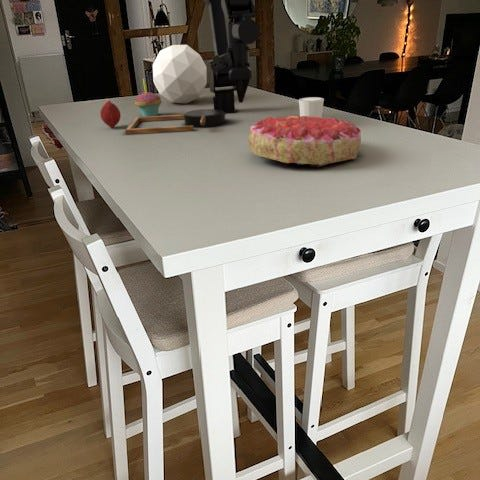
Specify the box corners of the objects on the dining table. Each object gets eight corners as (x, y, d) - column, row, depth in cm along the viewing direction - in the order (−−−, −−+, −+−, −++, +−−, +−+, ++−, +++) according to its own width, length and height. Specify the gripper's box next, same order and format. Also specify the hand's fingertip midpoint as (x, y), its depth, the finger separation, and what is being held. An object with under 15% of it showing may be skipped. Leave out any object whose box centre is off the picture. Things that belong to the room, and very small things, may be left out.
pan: (225, 118, 160) (224, 107, 158) (224, 131, 143) (224, 119, 141) (186, 120, 160) (185, 109, 158) (181, 134, 143) (180, 121, 141)
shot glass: (307, 129, 140) (307, 101, 137) (293, 125, 146) (293, 98, 142) (328, 125, 143) (329, 98, 139) (313, 122, 148) (314, 95, 144)
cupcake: (160, 117, 166) (155, 76, 160) (134, 118, 167) (128, 78, 161) (164, 112, 174) (159, 73, 167) (139, 114, 174) (133, 74, 168)
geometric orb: (195, 122, 192) (206, 78, 174) (143, 104, 189) (148, 58, 171) (206, 88, 200) (217, 43, 183) (155, 71, 197) (162, 23, 180)
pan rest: (196, 117, 163) (196, 113, 162) (193, 130, 146) (192, 126, 146) (136, 121, 163) (135, 117, 163) (125, 134, 147) (125, 129, 146)
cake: (231, 162, 110) (232, 122, 106) (267, 140, 131) (268, 107, 127) (347, 175, 103) (352, 133, 99) (365, 150, 124) (371, 115, 120)
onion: (126, 127, 156) (121, 98, 152) (110, 130, 152) (105, 101, 148) (115, 125, 159) (110, 97, 155) (99, 128, 156) (94, 100, 152)
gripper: (210, 41, 152) (214, 99, 160) (208, 46, 136) (212, 109, 144) (248, 39, 152) (250, 97, 160) (250, 44, 136) (252, 107, 144)
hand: (240, 102), depth 152 cm, fingers closed
